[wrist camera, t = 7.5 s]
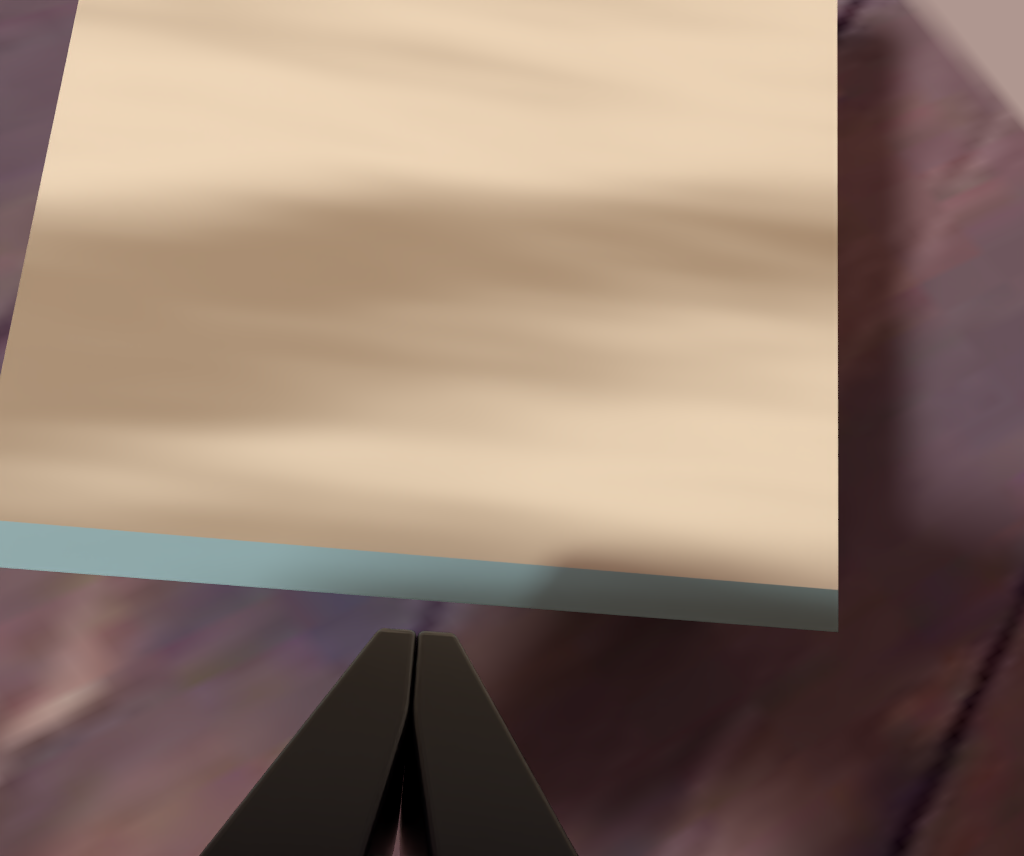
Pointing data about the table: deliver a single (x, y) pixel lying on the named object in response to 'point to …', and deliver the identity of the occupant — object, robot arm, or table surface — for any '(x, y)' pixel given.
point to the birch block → (438, 305)
